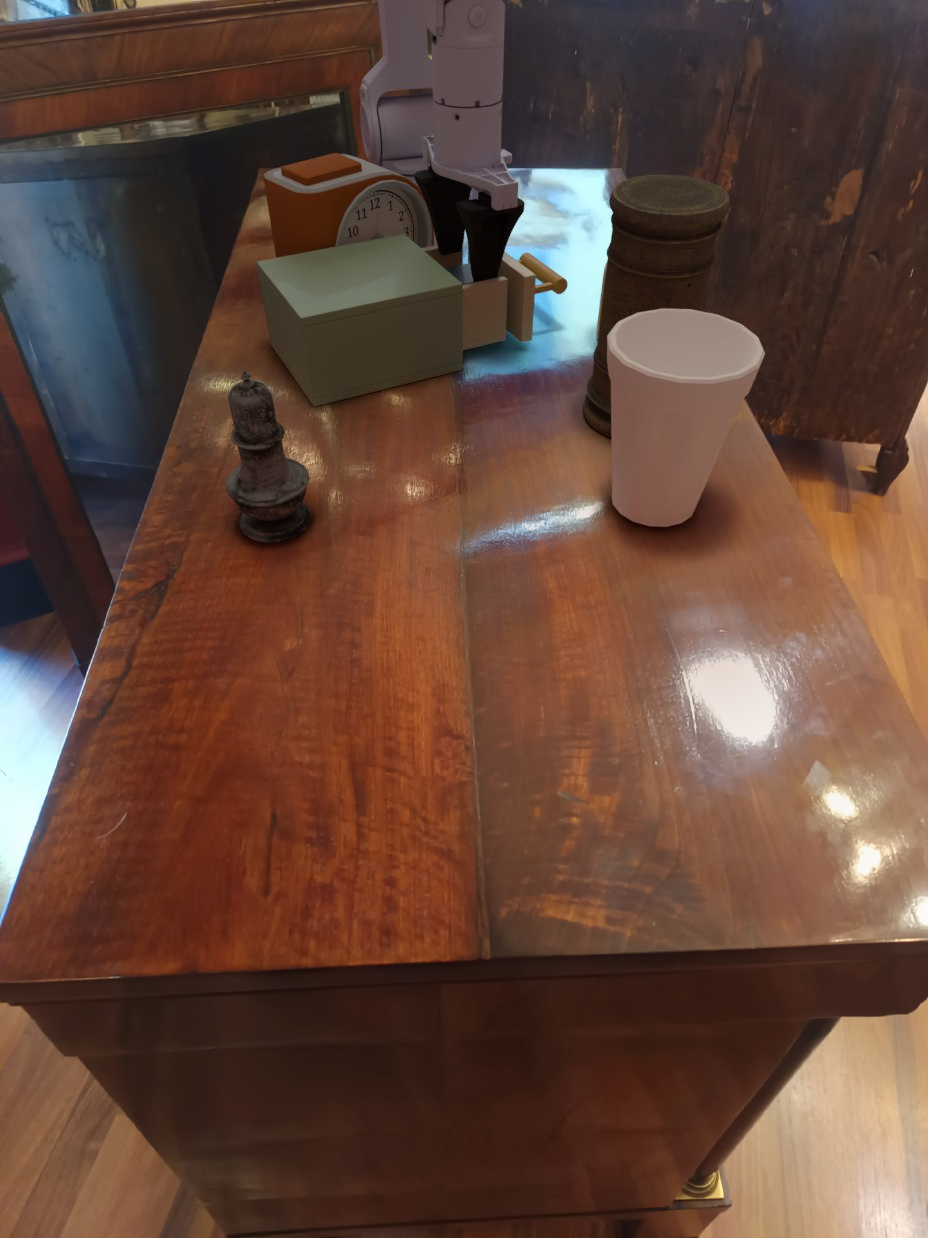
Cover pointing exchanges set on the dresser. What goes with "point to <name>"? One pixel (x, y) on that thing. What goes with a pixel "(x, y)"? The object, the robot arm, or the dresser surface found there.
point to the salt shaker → (264, 468)
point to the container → (653, 261)
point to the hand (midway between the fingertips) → (467, 266)
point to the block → (462, 273)
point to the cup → (673, 406)
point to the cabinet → (362, 317)
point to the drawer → (501, 297)
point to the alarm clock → (342, 205)
